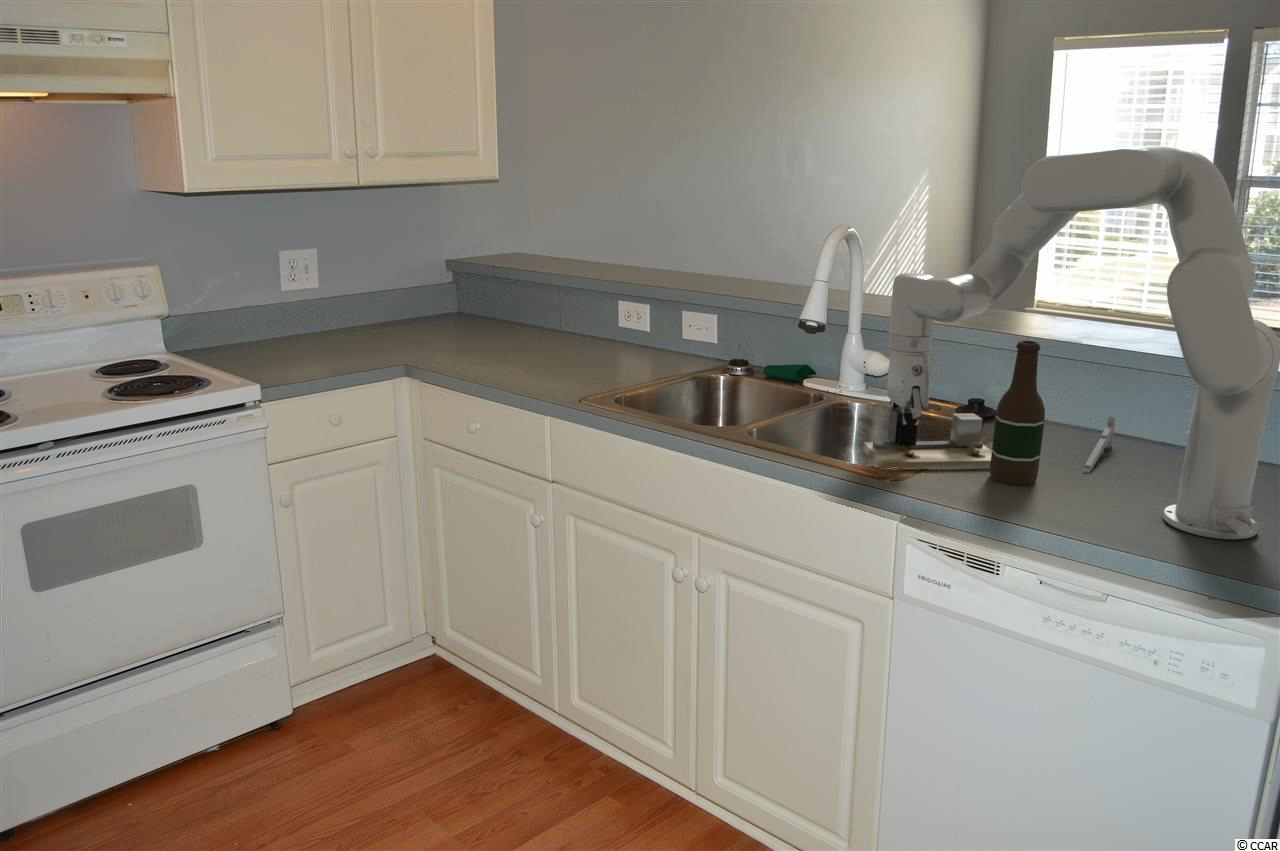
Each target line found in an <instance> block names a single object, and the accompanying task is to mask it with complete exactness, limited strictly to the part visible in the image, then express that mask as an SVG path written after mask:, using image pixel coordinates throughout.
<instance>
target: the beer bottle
mask: <svg viewBox="0 0 1280 851" xmlns="http://www.w3.org/2000/svg"><path fill="white" fill-rule="evenodd" d="M1015 348H1016V349H1017V351H1016V352H1017V353H1016V359H1015V363H1014V369H1013V375H1012V380H1011V382H1010V386H1009V388H1008V389H1007V390H1006V391H1005V392H1004V394H1003V395H1002V396H1001V398H1000V400H999V402H998V404H997V408H996V411H995V412H996V413H995V419H994V420H995V421H994V428H993V438H992V447H991V451H992V454H991V463H990V469H989V475H990V477H991V478H992V479H993V480H994V481H995V482H996V483H1000V484H1004V485H1007V486H1015V487H1016V486H1017V487H1018V486H1019V487H1027V486H1030V485H1033V484H1034V483H1036V482H1037V478H1038V474H1039V467H1040V460H1041V452H1042V444H1043V437H1044V436H1043V435H1044V428H1045V421H1046V420H1045V418H1046V416H1045V415H1046V410H1045V405H1044V401H1043V399H1042V398H1041V396H1040V394H1039V392H1038V384H1037V381H1038V380H1037V377H1038V361H1039V360H1038V358H1039V351H1041V344H1040V343H1039V342H1036V341H1033V340H1022V341H1018V342H1017V344H1016V347H1015Z"/></svg>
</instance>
